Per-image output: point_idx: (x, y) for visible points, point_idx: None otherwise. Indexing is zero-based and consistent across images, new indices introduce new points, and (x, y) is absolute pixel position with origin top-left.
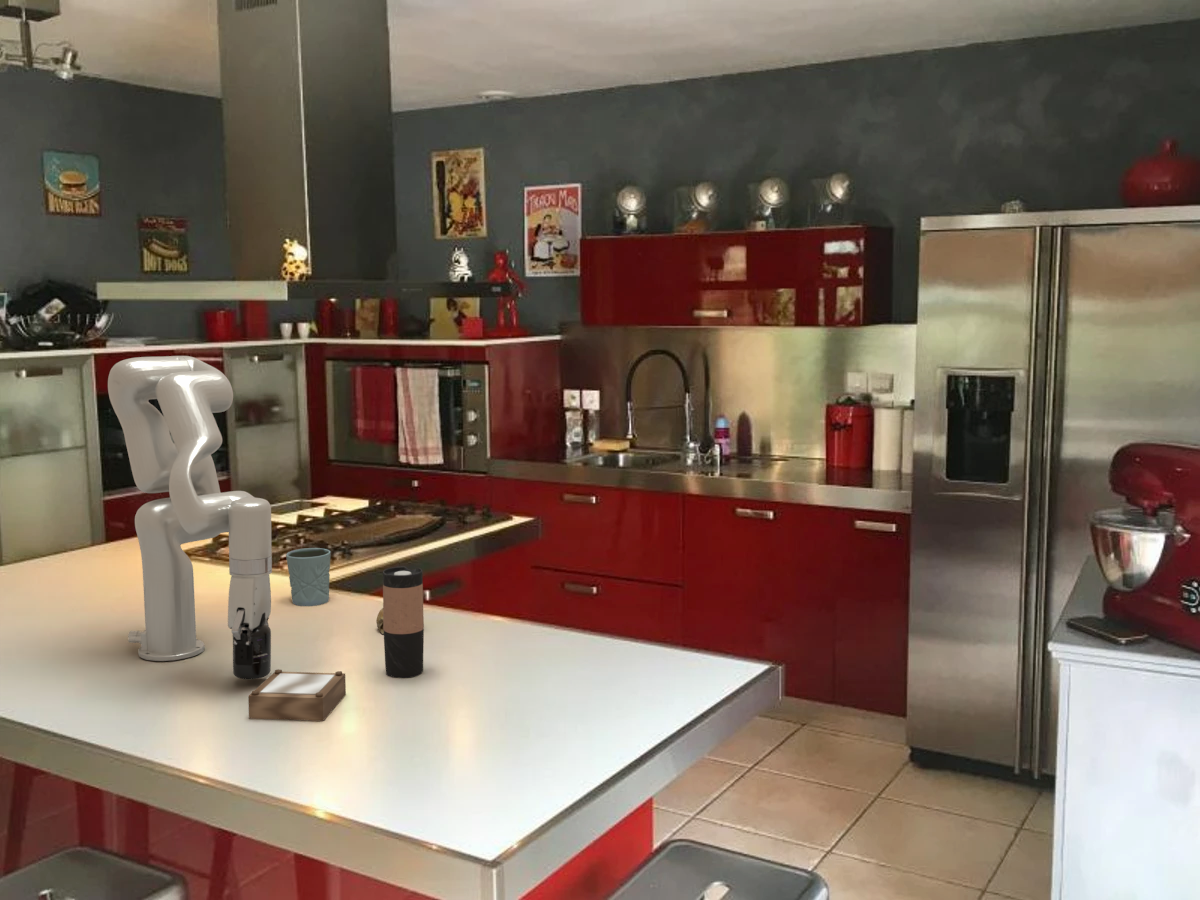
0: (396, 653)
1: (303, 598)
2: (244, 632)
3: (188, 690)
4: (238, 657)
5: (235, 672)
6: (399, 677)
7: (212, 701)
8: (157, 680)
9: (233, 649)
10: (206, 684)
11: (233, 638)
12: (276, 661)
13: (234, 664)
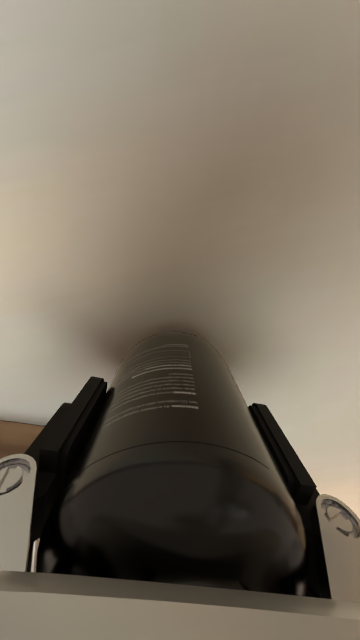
0: None
1: None
2: None
3: (118, 194)
4: (57, 412)
5: (133, 349)
6: None
7: (20, 292)
8: (237, 38)
9: (133, 386)
10: (172, 242)
11: (118, 435)
12: (337, 393)
13: (133, 357)
